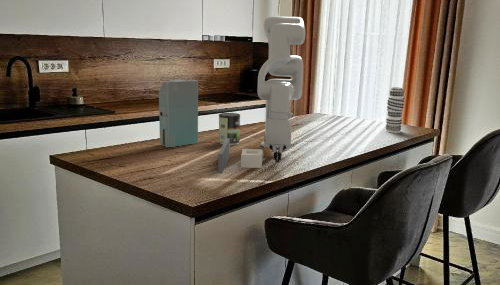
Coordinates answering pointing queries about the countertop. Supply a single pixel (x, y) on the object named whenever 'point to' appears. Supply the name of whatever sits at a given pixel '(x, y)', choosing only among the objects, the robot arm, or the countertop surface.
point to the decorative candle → (395, 110)
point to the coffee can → (229, 128)
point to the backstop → (223, 155)
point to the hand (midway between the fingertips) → (277, 161)
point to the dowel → (267, 151)
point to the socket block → (251, 158)
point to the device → (178, 113)
